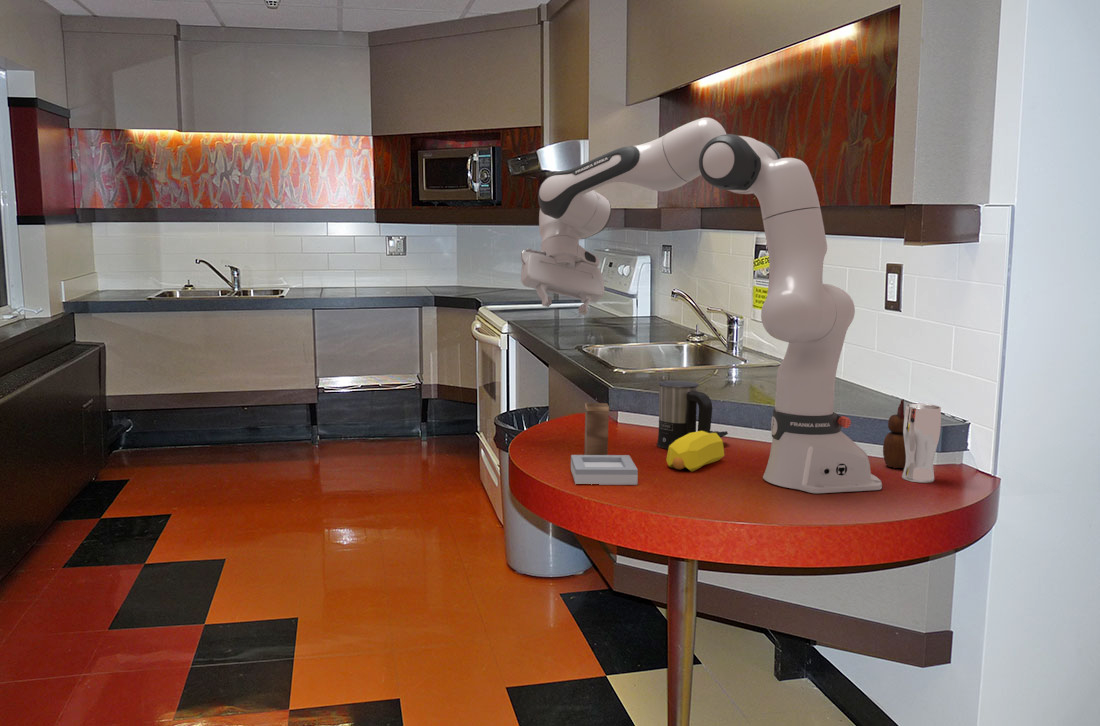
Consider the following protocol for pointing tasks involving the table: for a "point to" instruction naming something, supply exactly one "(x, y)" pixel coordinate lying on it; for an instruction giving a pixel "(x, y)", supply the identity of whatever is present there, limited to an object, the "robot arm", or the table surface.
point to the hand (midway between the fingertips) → (565, 309)
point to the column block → (596, 428)
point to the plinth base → (604, 469)
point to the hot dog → (695, 450)
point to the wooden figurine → (895, 440)
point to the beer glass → (920, 441)
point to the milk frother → (682, 411)
